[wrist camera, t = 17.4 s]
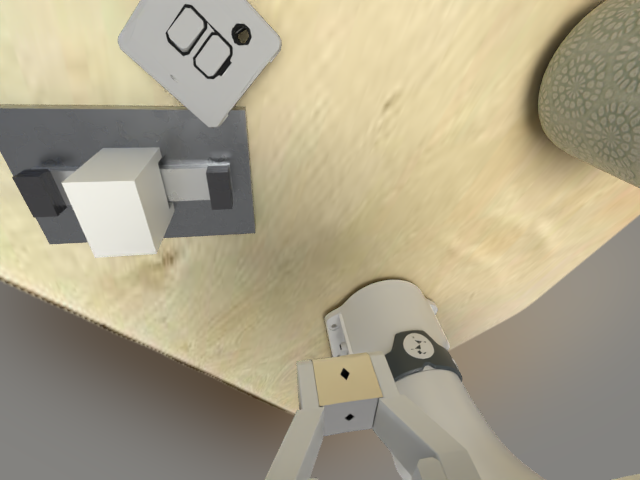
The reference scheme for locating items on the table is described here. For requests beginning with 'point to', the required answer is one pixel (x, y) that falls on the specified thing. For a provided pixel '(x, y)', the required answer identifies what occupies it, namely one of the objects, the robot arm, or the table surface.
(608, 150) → the planter
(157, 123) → the din board
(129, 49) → the electrical switch
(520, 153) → the table surface
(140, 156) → the din module
